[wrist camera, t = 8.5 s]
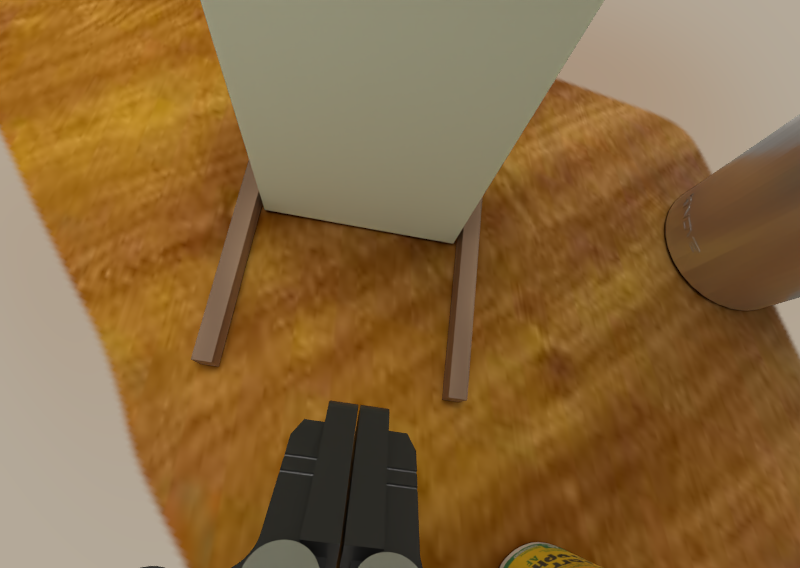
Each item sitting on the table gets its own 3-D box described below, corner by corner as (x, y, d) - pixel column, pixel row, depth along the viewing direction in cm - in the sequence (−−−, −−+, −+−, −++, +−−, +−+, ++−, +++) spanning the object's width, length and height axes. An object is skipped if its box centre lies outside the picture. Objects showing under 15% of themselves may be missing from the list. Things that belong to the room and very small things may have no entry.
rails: (483, 103, 32) (492, 82, 30) (459, 402, 25) (469, 399, 23) (285, 61, 31) (281, 37, 29) (199, 363, 23) (188, 357, 22)
